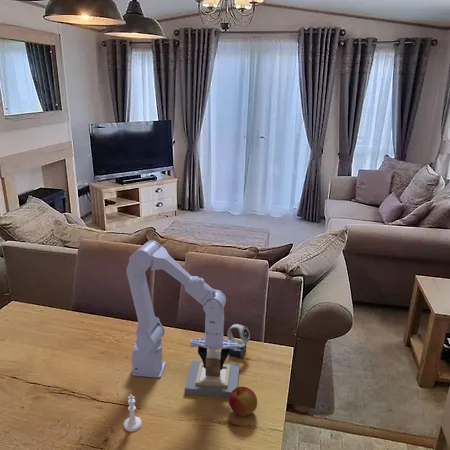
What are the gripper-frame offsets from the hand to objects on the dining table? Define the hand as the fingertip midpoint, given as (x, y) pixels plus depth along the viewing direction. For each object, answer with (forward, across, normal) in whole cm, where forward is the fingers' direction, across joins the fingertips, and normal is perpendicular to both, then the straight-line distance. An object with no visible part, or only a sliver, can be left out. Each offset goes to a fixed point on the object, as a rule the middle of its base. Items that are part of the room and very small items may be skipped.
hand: (213, 367), depth 132 cm
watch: (+5, +7, +16) cm, 18 cm away
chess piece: (+5, -20, -21) cm, 29 cm away
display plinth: (+5, 0, 0) cm, 5 cm away
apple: (+5, +10, -13) cm, 17 cm away
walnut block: (+2, 0, 0) cm, 2 cm away
